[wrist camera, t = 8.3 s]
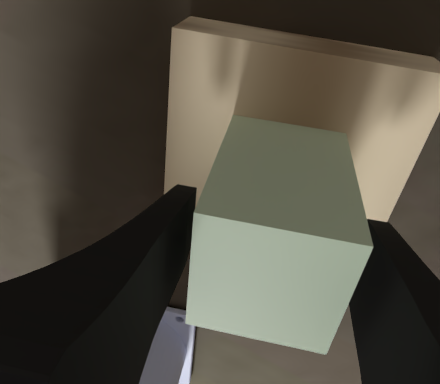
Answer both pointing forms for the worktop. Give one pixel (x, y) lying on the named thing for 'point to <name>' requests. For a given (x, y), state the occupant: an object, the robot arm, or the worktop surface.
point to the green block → (278, 235)
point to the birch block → (298, 100)
